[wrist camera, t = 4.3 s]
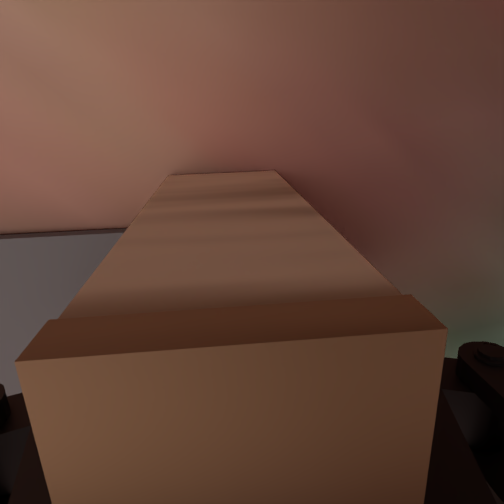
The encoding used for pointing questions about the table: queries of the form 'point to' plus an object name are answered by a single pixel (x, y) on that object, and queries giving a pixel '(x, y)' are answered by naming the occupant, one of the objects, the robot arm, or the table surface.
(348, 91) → the table surface
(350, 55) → the table surface
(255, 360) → the slab
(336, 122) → the table surface
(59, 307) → the mat
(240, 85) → the table surface
